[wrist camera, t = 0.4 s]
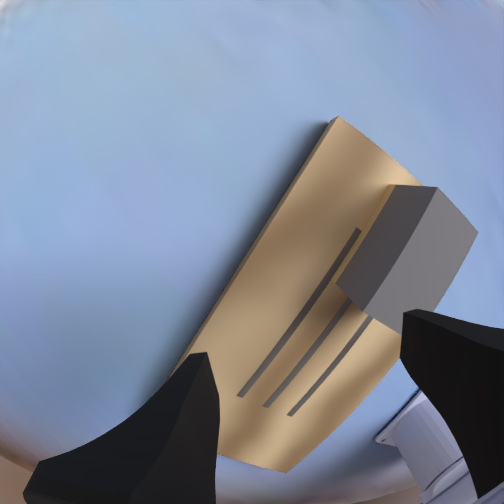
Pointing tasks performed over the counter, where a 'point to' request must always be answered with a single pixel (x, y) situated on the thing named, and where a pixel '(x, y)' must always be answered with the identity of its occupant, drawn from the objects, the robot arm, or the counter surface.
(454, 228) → the block
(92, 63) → the counter surface
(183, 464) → the robot arm
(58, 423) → the counter surface
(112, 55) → the counter surface
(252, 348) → the board
